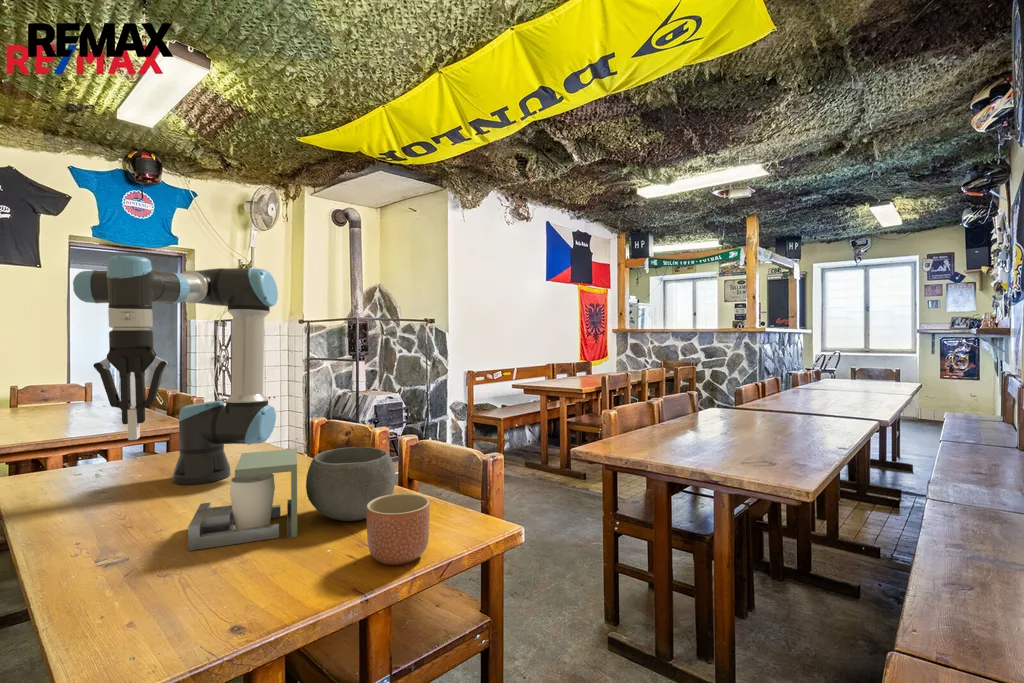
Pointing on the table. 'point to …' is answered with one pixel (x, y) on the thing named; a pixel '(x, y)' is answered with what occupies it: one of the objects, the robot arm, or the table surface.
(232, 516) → the frame
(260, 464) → the shelf
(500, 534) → the table surface
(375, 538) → the planter
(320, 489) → the bowl
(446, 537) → the table surface
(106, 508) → the table surface
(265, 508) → the cup
